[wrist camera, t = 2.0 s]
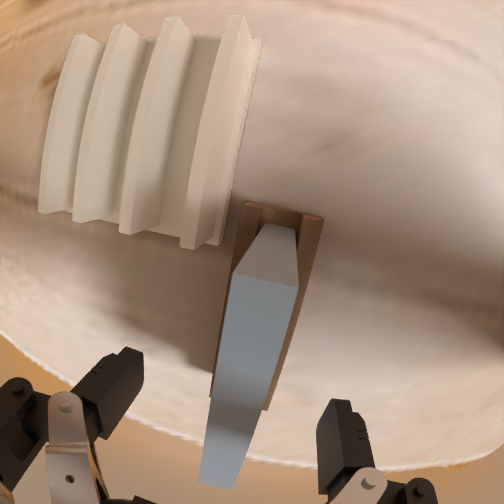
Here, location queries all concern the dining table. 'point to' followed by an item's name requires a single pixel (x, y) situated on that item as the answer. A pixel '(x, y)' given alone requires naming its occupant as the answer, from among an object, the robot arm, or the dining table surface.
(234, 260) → the stand
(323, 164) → the dining table surface
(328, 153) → the dining table surface
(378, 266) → the dining table surface
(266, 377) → the grey-blue flat slab
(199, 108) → the rack
